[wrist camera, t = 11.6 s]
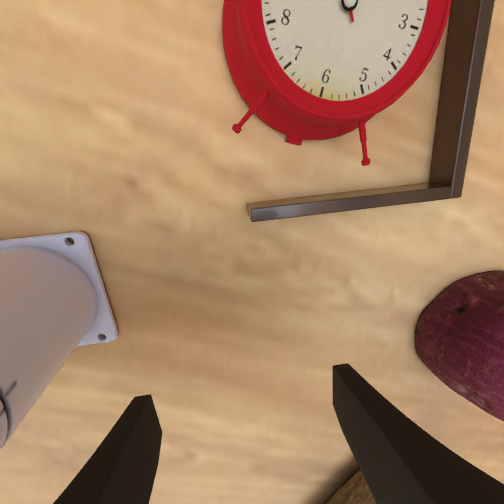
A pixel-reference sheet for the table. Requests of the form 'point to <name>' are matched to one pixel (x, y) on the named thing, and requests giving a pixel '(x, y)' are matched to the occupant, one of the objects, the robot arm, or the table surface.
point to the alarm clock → (327, 60)
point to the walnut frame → (446, 137)
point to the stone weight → (353, 492)
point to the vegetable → (468, 340)
